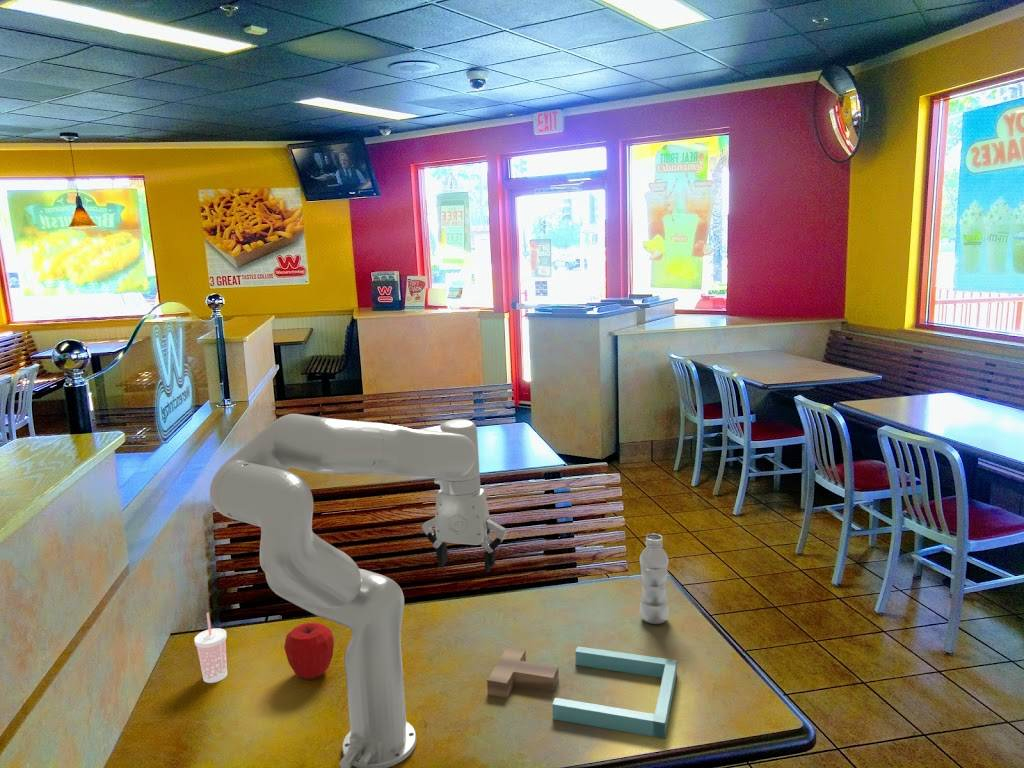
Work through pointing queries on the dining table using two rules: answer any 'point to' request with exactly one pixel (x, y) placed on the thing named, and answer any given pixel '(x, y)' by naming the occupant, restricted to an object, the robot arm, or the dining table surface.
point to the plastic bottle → (654, 581)
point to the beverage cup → (212, 653)
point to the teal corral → (617, 716)
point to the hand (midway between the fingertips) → (466, 566)
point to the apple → (309, 649)
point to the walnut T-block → (520, 674)
